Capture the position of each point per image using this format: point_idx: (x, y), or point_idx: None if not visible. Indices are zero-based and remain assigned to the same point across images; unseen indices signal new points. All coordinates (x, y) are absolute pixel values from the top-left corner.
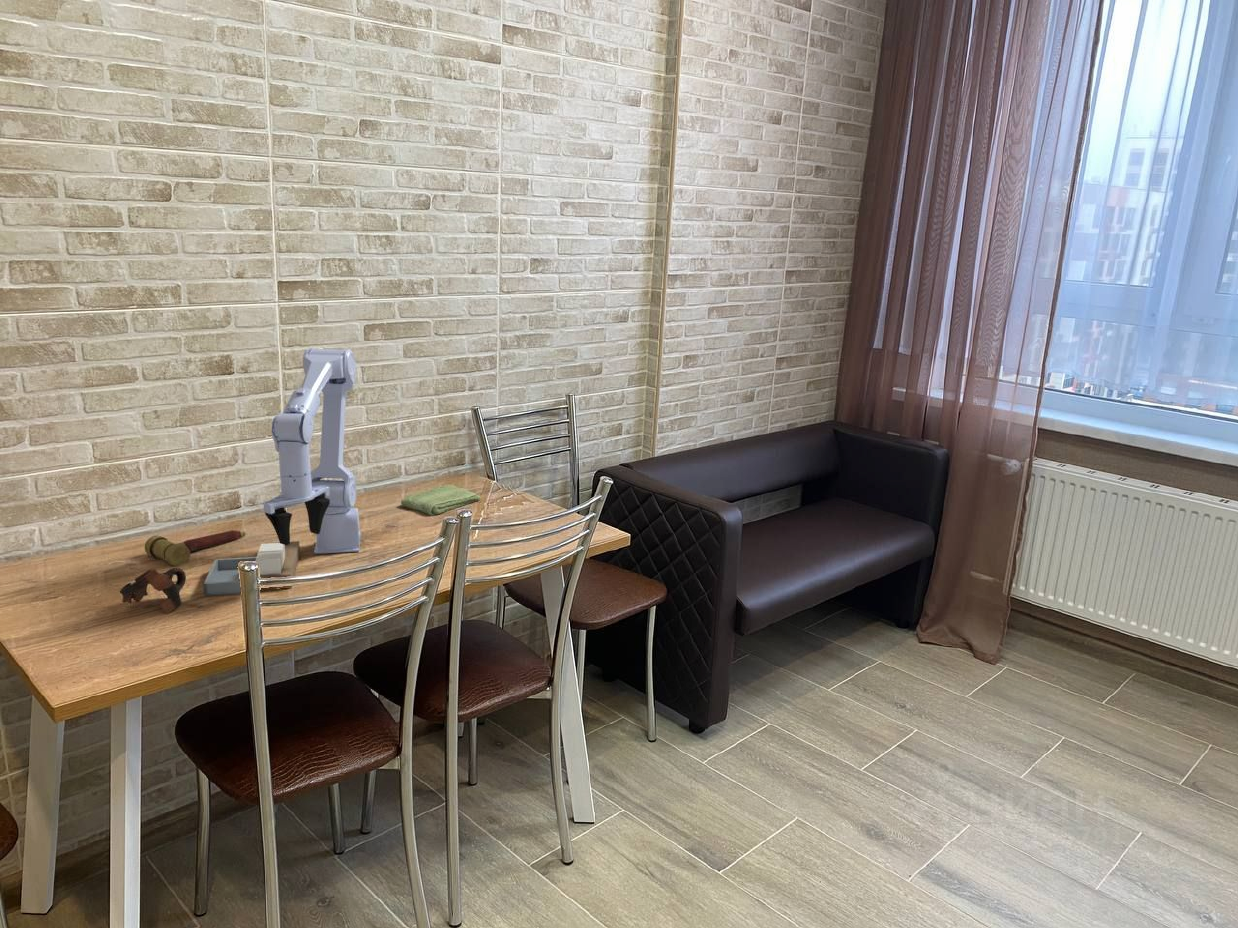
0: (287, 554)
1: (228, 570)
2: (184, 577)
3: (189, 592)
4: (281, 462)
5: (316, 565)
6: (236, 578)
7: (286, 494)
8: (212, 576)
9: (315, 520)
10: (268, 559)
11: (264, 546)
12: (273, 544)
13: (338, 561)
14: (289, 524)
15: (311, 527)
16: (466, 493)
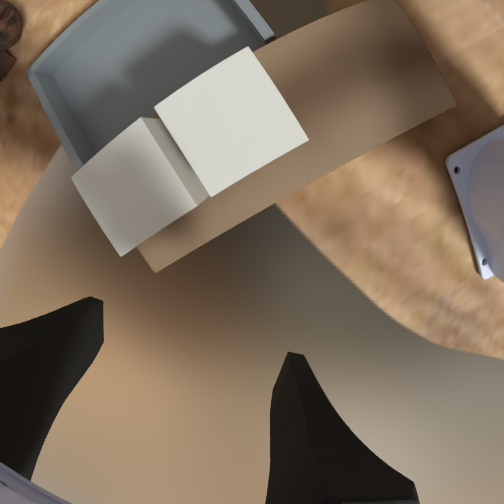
0: (321, 137)
1: None
2: (3, 34)
3: (56, 25)
4: None
5: (365, 216)
6: (153, 53)
7: None
8: (100, 16)
9: (277, 439)
10: (102, 214)
11: (219, 84)
12: (263, 105)
13: (411, 263)
14: (47, 426)
15: (286, 378)
16: None
